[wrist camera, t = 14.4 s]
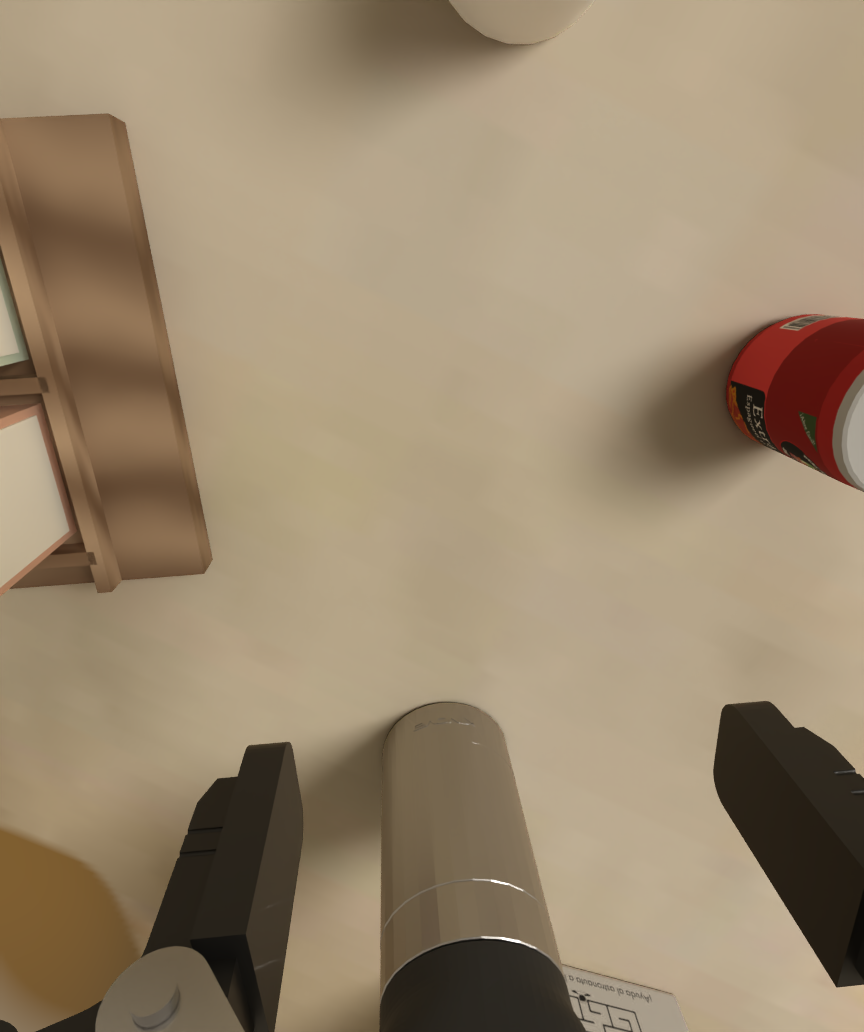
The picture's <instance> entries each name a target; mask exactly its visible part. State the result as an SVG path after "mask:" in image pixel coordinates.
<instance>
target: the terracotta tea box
mask: <svg viewBox="0 0 864 1032" xmlns="http://www.w3.org/2000/svg"><path fill="white" fill-rule="evenodd" d="M76 532H77V529H76V526H75V522H74V519H73V515H72V512H71V508H70V505H69V501H68V498H67V494H66V491H65V487H64V483H63V480H62V476H61V473H60V469H59V466H58V462H57V459H56V455H55V452H54V448H53V444H52V441H51V437H50V434H49V430H48V427H47V423H46V420H45V416H44V413H43V409H42V406H41V403H36V404H21V405H6V406H0V596H1V595H2V594H4V593H5V592H6V591H7V590H8V589H9V588H11V587H12V586H13V585H14V584H15V583H17V582H18V581H19V580H20V579H21V578H22V577H24V576H25V575H26V574H27V573H28V572H29V571H31V570H32V569H33V568H34V567H35V566H37V565H38V564H39V563H40V562H41V561H42V560H44V559H45V558H46V557H47V556H48V555H50V554H51V553H52V552H53V551H54V550H55V549H57V548H58V547H59V546H60V545H61V544H63V543H64V542H65V541H66V540H67V539H68V538H70V537H71V536H72V535H73V534H74V533H76Z"/></svg>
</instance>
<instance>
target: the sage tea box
mask: <svg viewBox="0 0 864 1032" xmlns="http://www.w3.org/2000/svg"><path fill="white" fill-rule="evenodd" d="M28 359H29V357H28V353H27V350H26V346H25V343H24V339H23V336H22V332H21V328H20V325H19V321H18V318H17V314H16V311H15V307H14V304H13V300H12V297H11V293H10V290H9V286H8V283H7V279H6V276H5V272H4V269H3V265H2V262H1V258H0V366H4V365H8V364H12V363H16V362H20V361H24V360H28Z"/></svg>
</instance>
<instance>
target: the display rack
mask: <svg viewBox="0 0 864 1032" xmlns="http://www.w3.org/2000/svg"><path fill="white" fill-rule="evenodd" d="M0 258H1V262H2V265H3V269H4V272H5V276H6V279H7V283H8V286H9V290H10V293H11V297H12V300H13V304H14V307H15V311H16V314H17V318H18V321H19V325H20V328H21V332H22V336H23V339H24V343H25V346H26V350H27V353H28V357H29V359H28V360H24V361H20V362H16V363H12V364H8V365H4V366H0V406H6V405H21V404H36V403H41V406H42V409H43V413H44V416H45V420H46V423H47V427H48V430H49V434H50V437H51V441H52V444H53V448H54V452H55V455H56V459H57V462H58V466H59V469H60V473H61V476H62V480H63V483H64V487H65V491H66V494H67V498H68V501H69V505H70V508H71V512H72V515H73V519H74V522H75V526H76V529H77V532H76V533H74V534H73V535H72V536H71V537H70V538H68V539H67V540H66V541H65V542H64V543H63V544H61V545H60V546H59V547H58V548H57V549H55V550H54V551H53V552H52V553H51V554H50V555H48V556H47V557H46V558H45V559H44V560H42V561H41V562H40V563H39V564H38V565H37V566H35V567H34V568H33V569H32V570H31V571H29V572H28V573H27V574H26V575H25V576H24V577H22V578H21V579H20V580H19V581H18V582H17V583H15V584H14V585H13V586H12V587H11V588H9V589H13V588H26V587H39V586H52V585H65V584H78V583H91V582H95V585H96V588H97V592H98V593H105V592H112V591H113V590H114V589H115V588H116V586H117V585H118V584H119V583H120V582H121V581H122V580H130V579H143V578H156V577H169V576H182V575H195V574H204V573H205V571H206V570H207V568H208V566H209V565H210V563H211V561H212V560H213V559H212V554H211V549H210V544H209V539H208V534H207V529H206V524H205V519H204V514H203V510H202V505H201V500H200V495H199V490H198V485H197V480H196V475H195V470H194V465H193V460H192V455H191V450H190V445H189V440H188V435H187V430H186V425H185V420H184V415H183V410H182V405H181V400H180V395H179V390H178V385H177V380H176V375H175V370H174V365H173V360H172V355H171V350H170V345H169V340H168V335H167V330H166V325H165V320H164V315H163V310H162V305H161V300H160V295H159V290H158V285H157V280H156V275H155V270H154V265H153V260H152V255H151V250H150V245H149V240H148V235H147V230H146V225H145V220H144V215H143V210H142V205H141V200H140V195H139V190H138V185H137V180H136V175H135V170H134V165H133V160H132V155H131V150H130V145H129V140H128V135H127V130H126V125H125V122H123V121H121V120H119V119H117V118H116V117H114V116H112V115H110V114H89V115H68V116H46V117H25V118H4V119H1V118H0Z"/></svg>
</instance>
